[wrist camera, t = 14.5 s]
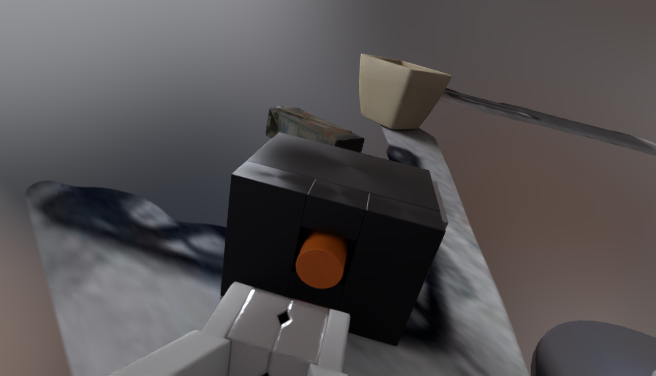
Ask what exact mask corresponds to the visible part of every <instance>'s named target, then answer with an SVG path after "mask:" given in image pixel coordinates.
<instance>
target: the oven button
mask: <svg viewBox="0 0 656 376" xmlns="http://www.w3.org/2000/svg"><path fill="white" fill-rule="evenodd" d="M347 252H348V243H347V240H346V238H343V237H339V236H336V235H332V234H328V233H325V232H321V231H317V230H314V229H313V230H312V231H310V232H309V233H308V235H307V237H306V239H305V241H304V244H303V246H302V249H301V251H300V253H299V256H298V258H297V261H296V271H297V274H298V276H299V277H300V278H301V280H302V281H304V282H305V283H306V284H308V285H310V286H312V287H315V288H320V289H325V288H330V287H333V286H335V285H336V284H337V283H338V282H339V281H340V280H341V278H342V276H343V272H344V267H345V262H346V257H347Z"/></svg>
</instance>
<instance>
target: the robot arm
mask: <svg viewBox="0 0 656 376" xmlns="http://www.w3.org/2000/svg"><path fill="white" fill-rule="evenodd" d="M349 323H350V315H349V314H348V313H344V312H340V311H337V310H333V309H330V310H329V308H325V307H322V306H318V305H314V304H311V303H307V302H303V301H300V300H296V299H291V298H288V297H285V296H281V295H278V294H275V293H272V292H269V291H265V290H262V289H259V288H256V287H251V286H248V285H245V284H241V283H238V282H234V283H233V284H232V285H231V286H230V287H229V289H228V290H227V292H226V293H225V295H224V297H223V298H222V300H221V301H220V303H219V304H218V306H217V308H216V309H215V311H214V312H213V314H212V315H211V317H210V318H209V320H208V322H207V323H206V325H205V326H204V328H203V329H202V331H199V330H194V331H192V332H190V333H188V334H186V335H184V336H182V337H180V338H178V339H177V340H175V341H173V342H171V343H169V344H167V345H165V346H163V347H161V348H159V349H158V350H156V351H154V352H152V353H150V354H148V355H146V356H144V357H142V358H140V359H139V360H137V361H135V362H133V363H131V364H129V365H127V366H125V367H123V368H121V369H120V370H118V371H116V372H114V373H112V374H110V375H108V376H349V375H347V374H344V373H342V371H343V364H344V357H345V350H346V343H347V337H348V330H349ZM652 376H656V370H655V371H653V372H652Z"/></svg>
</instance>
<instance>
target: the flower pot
mask: <svg viewBox="0 0 656 376" xmlns="http://www.w3.org/2000/svg"><path fill="white" fill-rule="evenodd" d="M451 77H452V75H449V74H445V73H442V72H439V71H435V70H431V69H429V68H425V67H422V66H418V65H414V64H411V63H407V62H404V61H400V60H394V59H389V58H384V57H378V56H373V55H366V54H361V60H360V77H359V78H360V79H359V80H360V81H359V84H360V85H359V89H360V105H361V114H362V116H364V117H366V118H368V119H370V120H372V121H375V122H377V123H379V124H381V125H383V126H385V127H387V128H390V129H393V130H396V129H418V128H419V126H420V125H421V124H422V123H423V121H424V120H425V119H426V118H427V116H428V115H429V113H430V112H431V110H432V109H433V108H434V106H435V105H436V103H437V102H438V100H439V99H440V97H441V95H442V94H443V92H444V90H445V89H446V87H447V85H448V83H449V81H450V79H451Z"/></svg>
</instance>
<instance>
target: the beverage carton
mask: <svg viewBox="0 0 656 376" xmlns="http://www.w3.org/2000/svg"><path fill="white" fill-rule="evenodd" d="M279 132H281V133H285V134H288V135H292V136H296V137H300V138H304V139H308V140H312V141H316V142H320V143H324V144H328V145H331V146H335V147H339V148H343V149H347V150H351V151H355V152H359V153H361V151H362V147H363V143H364V138H362V137H360V136H358V135H356V134H354V133H352V132H351V131H348V130H345V129H342V128H340V127H338V126H335V125H333V124H331V123H329V122H327V121H324V120H322V119H320V118H318V117H316V116H314V115H312V114H309V113H307V112H305V111H304V110H301V109H299V108H285V107H283V106H278V107H276V108H270V109H269V115H268V121H267V126H266V136H268V137H270V138H271V139H272V138H273V137H274V136H275V135H277V134H278V133H279Z"/></svg>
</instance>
